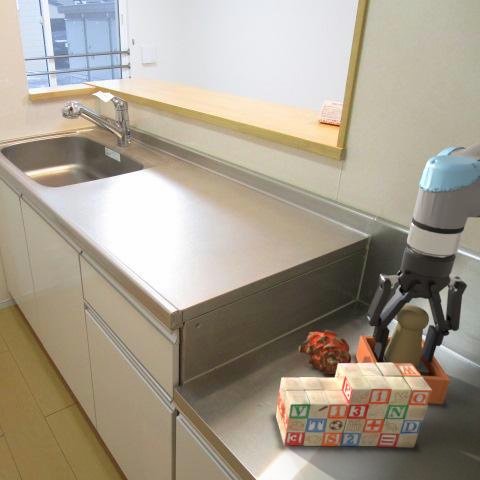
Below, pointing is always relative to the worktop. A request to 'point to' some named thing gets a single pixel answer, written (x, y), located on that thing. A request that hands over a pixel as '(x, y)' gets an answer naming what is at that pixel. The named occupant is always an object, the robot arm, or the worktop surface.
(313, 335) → the dragon fruit
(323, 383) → the stack of blocks
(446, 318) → the robot arm
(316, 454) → the worktop surface
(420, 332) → the cork
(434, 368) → the crate
